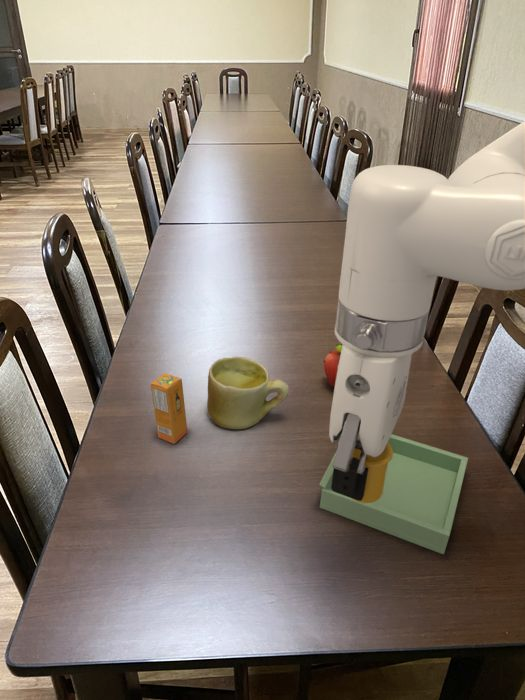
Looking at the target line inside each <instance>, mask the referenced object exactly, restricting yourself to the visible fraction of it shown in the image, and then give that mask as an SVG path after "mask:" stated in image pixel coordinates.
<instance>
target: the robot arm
mask: <svg viewBox="0 0 525 700" xmlns="http://www.w3.org/2000/svg"><path fill="white" fill-rule="evenodd" d="M342 251H343V253H342V261H341V269H340V270H341V271H340V277H339V287H338V296H337V306H336V313H335V323H334V335H335V338H336V339H337V340H338V342H339V343H340V344H341V343H342V344H343V345H342V350H341V355H340V360H339V364H338V371H337V376H336V382H335V388H334V387H333V388H334V389H333V394H332V402H331V409H330V415H329V426H328V428H329V429H328V437H329V439H330V442H331V443H332V444H336V443H337V447H336V451H337V452H336V451H335V453H336V455H335V454H334V455H335V459H334V462H333V468H334V470H333V477H332V485H331V489H332V491H334V492H336V493H339V494H342V495H344V496H347V497H350V498H352V499H355V500H358V501H361V500H362V499H363V496H364V492H365V486H366V480H367V475H368V469H369V468H366V462H367V458H368V455H370V456H372V457H377V456H379V455H380V454H381V453H382V452H383V451H384V449H385V447H386V445H387V442H388V440H389V438H390V436H391V434H393V432H394V429H395V428H396V425H397V423H398V420H399V418H400V416H401V414H402V411H403V408H404V404H405V401H406V395H407V387H408V381H409V375H410V369H411V363H412V356H413V354H414V353H416V352H418V351H419V350H420V349H421V348H422V346H423V343H424V338H425V334H426V329H427V324H428V320H429V316H430V311H431V306H432V301H433V297H434V293H435V287H436V282H437V278H438V277H440V278H444V279H448V280H453V281H457V282H460V283H464V284H468V285H472V286H476V287H480V288H484V289H491V290H496V291H517V290H518V291H519V290H524V289H525V120H524V121H523V122H521V123H519V124H518V125H516V126H514V127H513V128H511V129H510V130H509V131H507V132H506V133H504V134H503V135H501V136H499V137H498V138H497V139H495V140H494V141H492V142H490V143H489V144H488V145H485V146H484V147H483V148H481V149H480V150H478V151H476V152H475V153H474V154H473V155H471V156H470V157H468V158H467V159H465V160H464V161H463V162H462V163H461V164H460V165H459V166H457V168H456V169H455V170H453V172H452V173H451V174H450V175H449V177H448V178H447V177H445V175H443V174H441V173H439V172H437V171H435V170H432V169H429V168H425V167H420V166H414V165H404V164H384V165H382V164H381V165H376V166H372V167H371V166H370V167H368V168H365V169H364V170H362V171H360V172H359V173H358V174H357V175H356V177H354V179H353V181H352V183H351V187H350V191H349V197H348V205H347V216H346V225H345V234H344V244H343V250H342ZM358 436H359V438H358ZM354 448H356V449H359V450H361V454H360V458H359V459H357V458H355V457H352V456H353V452H354Z"/></svg>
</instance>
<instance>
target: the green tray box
mask: <svg viewBox="0 0 525 700" xmlns="http://www.w3.org/2000/svg"><path fill="white" fill-rule="evenodd" d="M388 443H389V444H390V445H391V447H392V449H393V456H392V459H391V460H390V461H389V462H388V466H387V472H386V478H385V484H384V490H383V494H382V496H381V498H380V499H379V500H377V501H375V502H372V503H362V502H358V501H355V500H353V499H352V498H350V497H347V496H344V495H342V494H339V493H336V492H334V491H332V489H331V485H332V477H333V474H332V476H331V478H330V479H329V481H328V483H327V485H326V487H325V488H324V487H322V488H321V493H320V503H319V508H320V509H322V510H325V511H327V512H330V513H333V514H335V515H338V516H341V517H343V518H346V519H349V520H350V521H351V520H352V521H354V522H356V523H359V524H361V525H364V526H367V527H369V528H372V529H375V530H378V531H380V532H383V533H386V534H388V535H391V536H394V537H396V538H399V539H400V540H404V541H407V542H409V543H412V544H414V545H417V546H420V547H422V548H425V549H428V550H431V551H433V552H436V553H438V554H441V555H445V552H446V549H447V546H448V543H449V538H450V535H451V531H452V528H453V524H454V519H455V515H456V511H457V507H458V502H459V498H460V494H461V490H462V485H463V482H464V477H465V473H466V469H467V464H468V460H469V457H467V456H464V455H460V454H457V453H454V452H451V451H448V450H444V449H441V448H439V447H434V446H432V445H428V444H425V443H423V442H422V443H421V442H418V441H415V440H412V439H409V438H407V437H402V436H399V435H396V434H393V433H392V434H391V436H390V438H389V440H388Z"/></svg>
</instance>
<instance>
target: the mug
mask: <svg viewBox="0 0 525 700" xmlns="http://www.w3.org/2000/svg"><path fill="white" fill-rule="evenodd" d="M289 392H290V387H289V384H287V383H286V382H285V381H284V380H281V379H272V380H271V379H270V374H269V371H268V369H266V367H265V366H264V365H263V364H262V363H260V362H258V361H256V360H255V359H252V358H248V357H245V356H232V357H223V358H218V359H217V360H216V361H214V362H213V363H212V364H211V366H210V367H209V369H208V374H207V400H206V401H207V405H206V410H207V415H208V416H209V418H210V419H211V420H212V421H213V422H214V424H215V425H217V426H218V427H220V428H224V429H231V430H245V429H248V428H251V427H253V426H255V425H256V424H258V423H259V422H260V421H261V420H262V419H263V418H265V416H266V415H267V413H268V412H270V410H272V409H274V408H275V407H277V406H278V405H280V404H281V403H283V401H285V400H286V398H287V396H289ZM274 393H276V394H277V395H276V396H274V397H272V398H271V399H269V400H267V397H268V396H269V395H270V394H274Z"/></svg>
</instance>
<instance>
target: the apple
mask: <svg viewBox="0 0 525 700" xmlns="http://www.w3.org/2000/svg"><path fill="white" fill-rule="evenodd" d="M342 345H343V344H342V343H341V342H340V344H336V345H335V347H334V349H335V350H332V351H329V353H328V354H327V355H326V356H325V359H324V360H323V369H324V374H325V376H326V378H327V381H328V383H329V384H330V385H331V387H332V388H335V382H336V376H337V371H338V364H339V360H340V355H341V350H342Z"/></svg>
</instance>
